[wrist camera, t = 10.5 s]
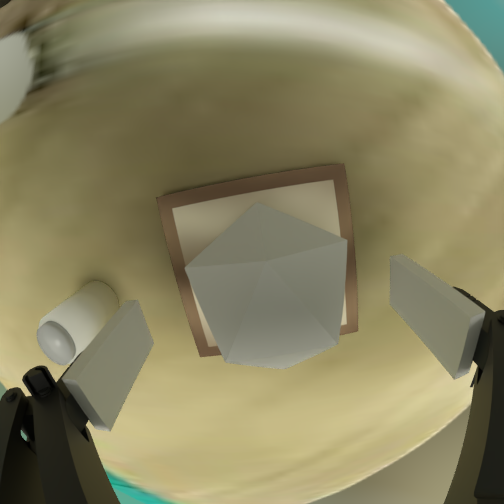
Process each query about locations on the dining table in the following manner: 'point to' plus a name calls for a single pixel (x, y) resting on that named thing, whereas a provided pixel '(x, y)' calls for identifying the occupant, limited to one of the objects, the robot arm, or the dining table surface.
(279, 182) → the board
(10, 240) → the dining table surface
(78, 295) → the shaker
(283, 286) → the die
